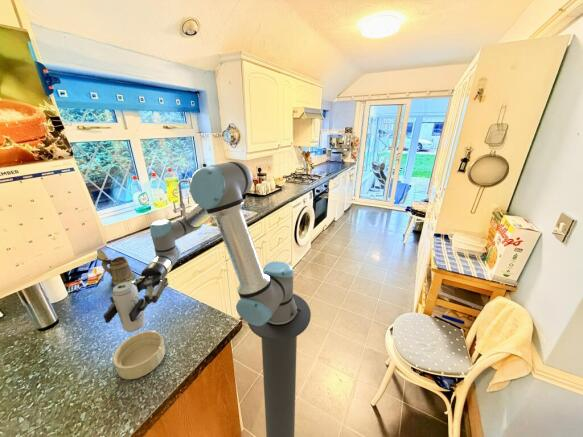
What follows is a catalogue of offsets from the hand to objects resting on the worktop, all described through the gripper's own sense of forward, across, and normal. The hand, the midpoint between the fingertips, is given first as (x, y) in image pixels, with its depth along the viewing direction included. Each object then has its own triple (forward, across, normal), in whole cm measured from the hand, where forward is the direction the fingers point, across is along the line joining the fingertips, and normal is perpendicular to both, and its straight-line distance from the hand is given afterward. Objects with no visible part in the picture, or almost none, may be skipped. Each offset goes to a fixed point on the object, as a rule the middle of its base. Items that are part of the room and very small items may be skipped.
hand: (118, 318), depth 66 cm
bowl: (-2, -1, -20) cm, 20 cm away
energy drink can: (-5, 0, -8) cm, 10 cm away
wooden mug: (-46, +32, -20) cm, 60 cm away
